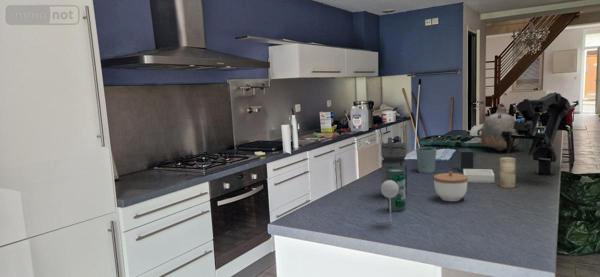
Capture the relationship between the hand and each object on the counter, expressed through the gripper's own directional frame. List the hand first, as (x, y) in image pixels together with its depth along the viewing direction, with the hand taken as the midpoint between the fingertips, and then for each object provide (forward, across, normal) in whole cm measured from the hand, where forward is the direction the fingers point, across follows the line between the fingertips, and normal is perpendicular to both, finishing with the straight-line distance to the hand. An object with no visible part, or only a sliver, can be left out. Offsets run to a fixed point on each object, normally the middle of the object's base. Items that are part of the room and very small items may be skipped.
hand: (518, 153), depth 181 cm
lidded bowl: (+35, -8, -22) cm, 42 cm away
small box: (+3, -32, +17) cm, 37 cm away
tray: (+12, -16, +6) cm, 21 cm away
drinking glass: (+12, -45, +6) cm, 47 cm away
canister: (+14, -1, +3) cm, 15 cm away
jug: (-35, -45, +64) cm, 86 cm away
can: (+51, -14, -41) cm, 67 cm away
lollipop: (+60, -5, -52) cm, 80 cm away
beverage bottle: (+41, -28, -29) cm, 58 cm away
